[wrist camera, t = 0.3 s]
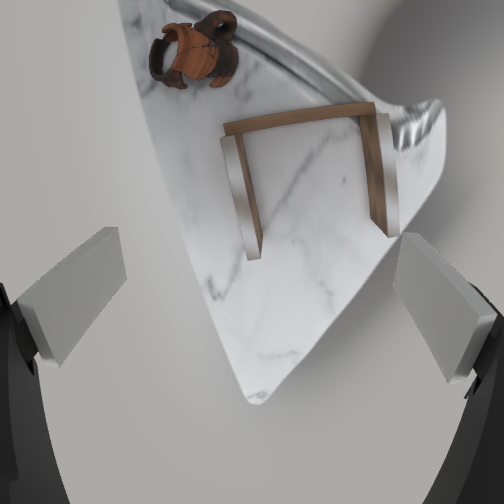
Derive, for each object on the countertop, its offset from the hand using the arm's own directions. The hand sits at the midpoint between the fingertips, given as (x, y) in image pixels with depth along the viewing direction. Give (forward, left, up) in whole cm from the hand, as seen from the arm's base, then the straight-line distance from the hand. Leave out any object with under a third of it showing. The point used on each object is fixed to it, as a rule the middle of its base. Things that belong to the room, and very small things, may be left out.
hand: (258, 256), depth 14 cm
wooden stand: (+2, +5, -27) cm, 28 cm away
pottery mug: (-16, -2, -28) cm, 32 cm away
